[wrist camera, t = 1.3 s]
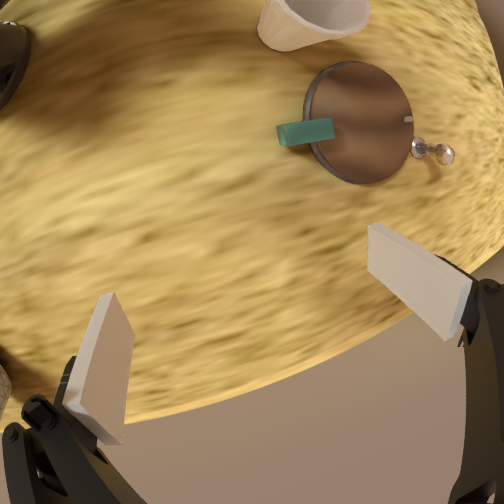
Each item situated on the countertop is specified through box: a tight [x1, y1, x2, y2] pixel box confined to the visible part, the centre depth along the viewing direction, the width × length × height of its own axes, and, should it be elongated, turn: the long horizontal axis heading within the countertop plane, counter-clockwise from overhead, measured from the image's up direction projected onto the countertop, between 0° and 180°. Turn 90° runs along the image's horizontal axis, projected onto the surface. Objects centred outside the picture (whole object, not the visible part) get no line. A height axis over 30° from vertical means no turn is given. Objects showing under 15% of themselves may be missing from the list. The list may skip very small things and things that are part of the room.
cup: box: [257, 0, 371, 51], centre depth 21 cm, size 10×10×13 cm
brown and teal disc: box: [276, 63, 414, 182], centre depth 31 cm, size 17×22×4 cm
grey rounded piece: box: [410, 137, 454, 166], centre depth 33 cm, size 4×4×9 cm
